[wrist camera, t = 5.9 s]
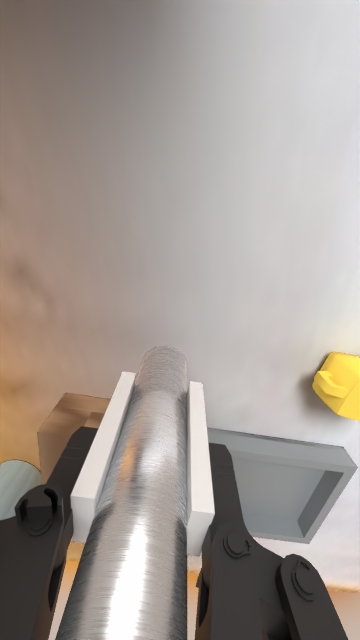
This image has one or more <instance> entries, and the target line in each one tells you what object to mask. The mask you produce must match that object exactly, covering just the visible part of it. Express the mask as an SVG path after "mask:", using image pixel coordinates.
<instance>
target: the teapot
mask: <svg viewBox="0 0 360 640" xmlns="http://www.w3.org/2000/svg"><path fill="white" fill-rule="evenodd" d="M313 379H314V382H313V384H312V387H313V389H314V391H315V392H316V394H317V395H318V396H319V397H320V398H321V399H322V400H323V402H324V403H325V404H326V405H327V406H328V407H329V408H330V409H331V410H332V411H333V412H335V413H336V414H337V415H340V416H343V417H346V418H350V419H353V420H357V421H360V357H358V356H355V355H350V354H345V353H340V352H331V353H330V354H329V356H328V357H327V359H326V361H325V362H324V364H323V366H322V367H321V369H320V371H317V373H316V375H315V376H314V378H313Z"/></svg>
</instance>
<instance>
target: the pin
mask: <svg viewBox="0 0 360 640" xmlns="http://www.w3.org/2000/svg"><path fill="white" fill-rule="evenodd" d="M55 640H187V362H186V359H185V357H184V356H183V354H182V353H181V352H180V351H178V350H177V349H175V348H172V347H168V346H159V347H155V348H153V349H151V350H149V351H148V352H147V353H146V354H145V356H144V358H143V361H142V364H141V367H140V370H139V373H138V377H137V380H136V383H135V387H134V390H133V393H132V396H131V400H130V403H129V406H128V409H127V412H126V416H125V419H124V422H123V425H122V428H121V432H120V435H119V438H118V441H117V444H116V448H115V451H114V454H113V457H112V460H111V464H110V467H109V470H108V473H107V476H106V480H105V483H104V486H103V489H102V493H101V496H100V499H99V502H98V505H97V509H96V512H95V515H94V518H93V521H92V524H91V527H90V530H89V533H88V537H87V540H86V543H85V546H84V549H83V552H82V556H81V559H80V562H79V565H78V568H77V572H76V575H75V578H74V581H73V584H72V588H71V591H70V594H69V597H68V601H67V604H66V607H65V610H64V613H63V617H62V620H61V623H60V626H59V630H58V632H57V636H56V639H55Z"/></svg>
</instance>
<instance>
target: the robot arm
mask: <svg viewBox="0 0 360 640" xmlns="http://www.w3.org/2000/svg"><path fill="white" fill-rule="evenodd" d="M135 377H136V373H131V372H124V371H123V372H122V374H121V377H120V379H119V381H118V384H117V386H116V389H115V391H114V393H113V396H112V398H111V400H110V403H109V405H108V408H107V410H106V412H105V415H104V417H103V419H102V422H101V424H100V427H99V428H92V427H85V426H81V427H80V428H79V429H78V430H76V431H75V432H74V433H73V434H72V435H71V437H70V439H69V441H68V443H67V445H66V447H65V448H64V450H63V452H62V454H61V457H60V458H59V460H58V462H57V464H56V465H55V467H54V469H53V471H52V473H51V475H50V477H49V479H48V480H47V482H46V484H43V485H38V486H36V487H34V488H32V489H31V490H29V491H27V492H26V493H25V494H24V495H23V496H22V497H21V498H20V499H19V501H18V502H17V504H16V506H15V507H14V509H15V514H16V516H13V517H11V518H7V519H3V520H0V640H48V638H49V634H50V629H51V625H52V621H53V616H54V612H55V607H56V603H57V599H58V594H59V590H60V586H61V581H62V577H63V572H64V568H65V564H66V555H67V549H68V546H69V544H70V541H71V538H72V535H73V542H79V543H86V540H87V537H88V533H89V530H90V527H91V524H92V521H93V518H94V515H95V512H96V509H97V505H98V502H99V499H100V496H101V493H102V489H103V486H104V483H105V480H106V476H107V473H108V470H109V467H110V464H111V460H112V457H113V454H114V451H115V448H116V444H117V441H118V438H119V435H120V432H121V428H122V425H123V422H124V419H125V416H126V412H127V409H128V406H129V403H130V400H131V396H132V393H133V390H134V387H135ZM235 478H236V477H235V472H234V467H233V461H232V456H231V454H230V452H229V450H228V449H227V447H226V445H223V444H216V443H209V442H208V435H207V425H206V414H205V403H204V393H203V383H200V382H193V381H190V382H189V386H188V391H187V555H191V556H200V553H201V550H202V568H201V571H200V574H199V576H198V580H197V583H196V587H198V588H199V592H198V605H197V617H196V630H195V640H348V638H347V636H346V634H345V631H344V629H343V626H342V624H341V622H340V619H339V617H338V615H337V613H336V610H335V608H334V605H333V603H332V601H331V598H330V596H329V594H328V591H327V589H326V587H325V584H324V582H323V580H322V578H321V577H320V575H319V573H318V571H317V570H316V569H315V568H314V567H313V565H312V564H311V563H310V562H309V561H307V560H306V559H305V558H303V557H302V556H299V555H295V554H290V555H287V556H286V557H285V558H282V557H281V556H279V555H277V554H275V553H273V552H271V551H269V550H268V549H266V548H264V547H263V546H261V545H260V544H258V543H257V542H256V541H255V540H254V539H253V537H252V536H251V535H250V533H249V532H248V530H247V528H246V526H245V523H244V519H243V515H242V509H241V504H240V499H239V493H238V488H237V483H236V480H235Z"/></svg>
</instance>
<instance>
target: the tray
mask: <svg viewBox="0 0 360 640" xmlns="http://www.w3.org/2000/svg"><path fill="white" fill-rule="evenodd" d="M207 435H208V442H209V443H216V444H223V445H226V447H227V449H228V450H229V452H230V454H231V456H232V461H233V467H234V472H235V477H236V478H235V480H236V483H237V488H238V493H239V499H240V504H241V509H242V515H243V519H244V523H245V526H246V528H247V530H248V532H249V533H250V535H251V536H252V537H258V538H266V539H274V540H282V541H289V542H297V543H305V544H309V543H310V541H311V540H312V538H313V537H314V535H315V534H316V532H317V531H318V529H319V527H320V526H321V524H322V523H323V521H324V520H325V518H326V516H327V515H328V513H329V512H330V510H331V509H332V507H333V505H334V504H335V502H336V501H337V499H338V498H339V496H340V495H341V493H342V491H343V490H344V488H345V487H346V485H347V484H348V482H349V480H350V479H351V477H352V476H353V474H354V473H355V471H356V469H357V468H358V467H357V466H356V464H355V463H354V461H353V460H352V459H351V457H350V456H349V454H348V453H347V452H346V450H345V449H344V447H339V446H332V445H325V444H318V443H311V442H304V441H297V440H290V439H283V438H276V437H269V436H262V435H255V434H248V433H241V432H233V431H226V430H219V429H212V428H207Z"/></svg>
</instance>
